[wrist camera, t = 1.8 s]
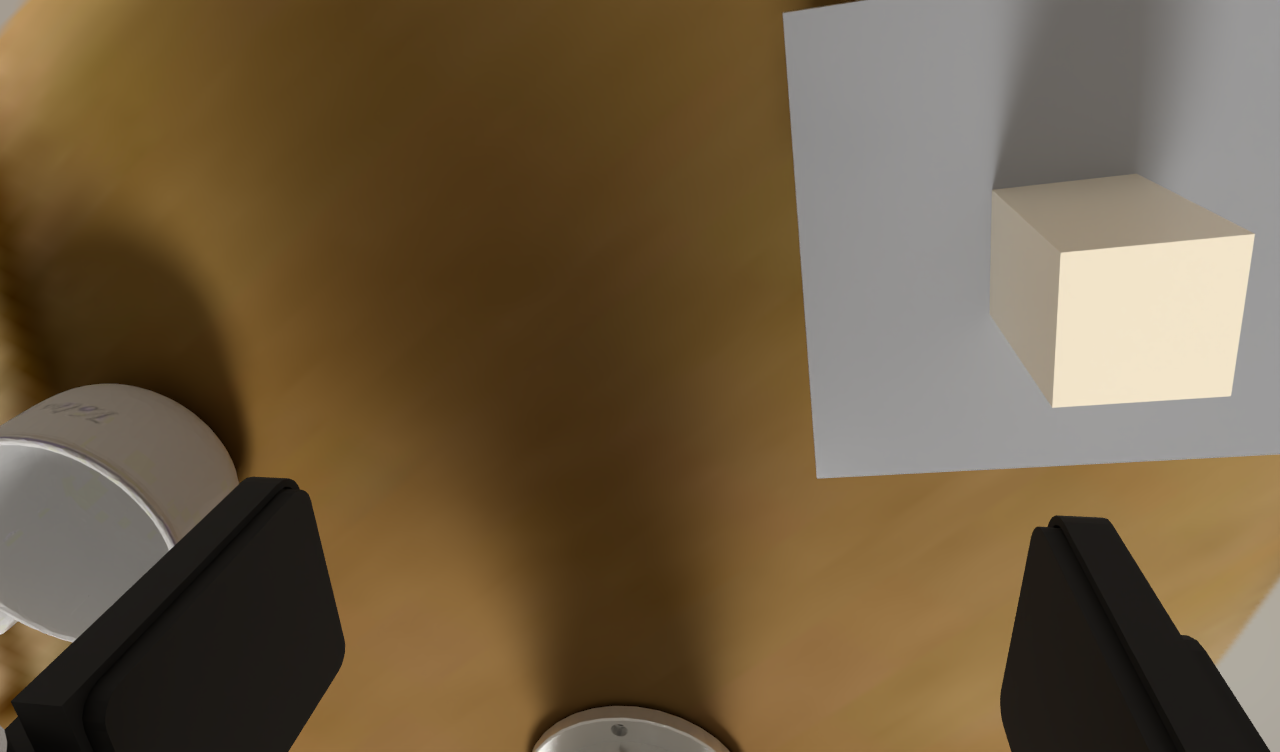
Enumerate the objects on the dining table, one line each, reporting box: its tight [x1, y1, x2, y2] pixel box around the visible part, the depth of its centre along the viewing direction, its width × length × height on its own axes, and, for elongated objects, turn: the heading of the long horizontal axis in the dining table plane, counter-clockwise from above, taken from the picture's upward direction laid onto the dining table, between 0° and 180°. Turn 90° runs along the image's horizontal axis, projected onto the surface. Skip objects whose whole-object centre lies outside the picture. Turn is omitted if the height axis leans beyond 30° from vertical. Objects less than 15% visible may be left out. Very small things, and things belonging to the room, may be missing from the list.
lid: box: [782, 0, 1280, 478], centre depth 21 cm, size 14×14×8 cm
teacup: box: [0, 384, 239, 642], centre depth 39 cm, size 14×11×8 cm
